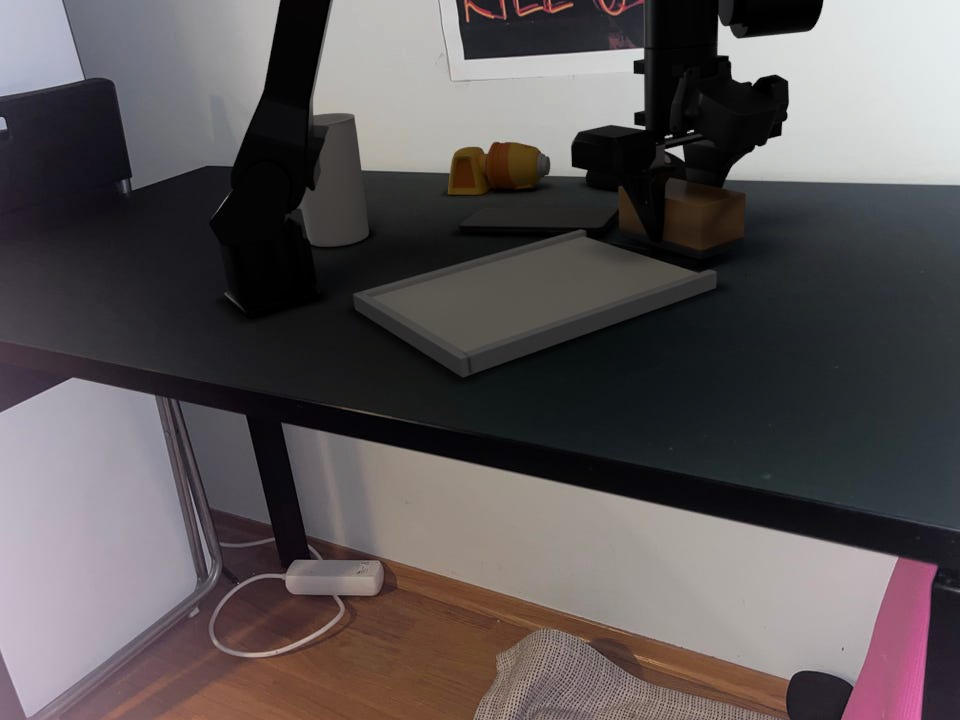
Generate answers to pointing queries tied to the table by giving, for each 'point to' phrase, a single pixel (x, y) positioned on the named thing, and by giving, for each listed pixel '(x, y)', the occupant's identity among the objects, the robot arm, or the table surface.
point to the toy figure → (496, 168)
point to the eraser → (691, 219)
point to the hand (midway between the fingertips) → (678, 235)
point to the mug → (337, 187)
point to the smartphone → (540, 220)
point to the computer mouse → (613, 183)
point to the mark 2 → (676, 260)
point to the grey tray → (525, 299)
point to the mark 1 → (633, 248)
